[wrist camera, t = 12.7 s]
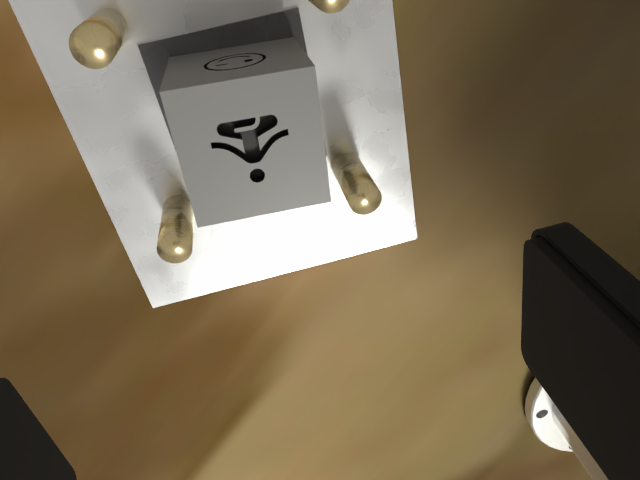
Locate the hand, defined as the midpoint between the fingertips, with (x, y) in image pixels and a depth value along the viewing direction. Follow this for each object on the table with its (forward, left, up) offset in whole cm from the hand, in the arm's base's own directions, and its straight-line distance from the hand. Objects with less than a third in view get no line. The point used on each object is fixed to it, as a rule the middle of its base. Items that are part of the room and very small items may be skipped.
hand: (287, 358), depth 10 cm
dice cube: (0, 0, -15) cm, 15 cm away
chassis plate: (0, 0, -16) cm, 16 cm away
